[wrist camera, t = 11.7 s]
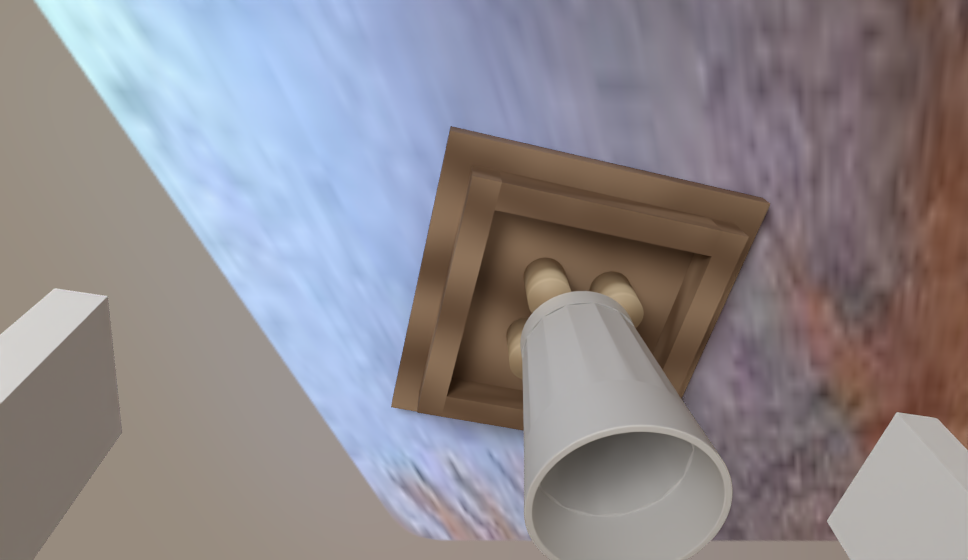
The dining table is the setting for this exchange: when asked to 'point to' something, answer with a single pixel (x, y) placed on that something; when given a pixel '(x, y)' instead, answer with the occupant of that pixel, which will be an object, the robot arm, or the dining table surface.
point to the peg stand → (559, 267)
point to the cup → (611, 442)
